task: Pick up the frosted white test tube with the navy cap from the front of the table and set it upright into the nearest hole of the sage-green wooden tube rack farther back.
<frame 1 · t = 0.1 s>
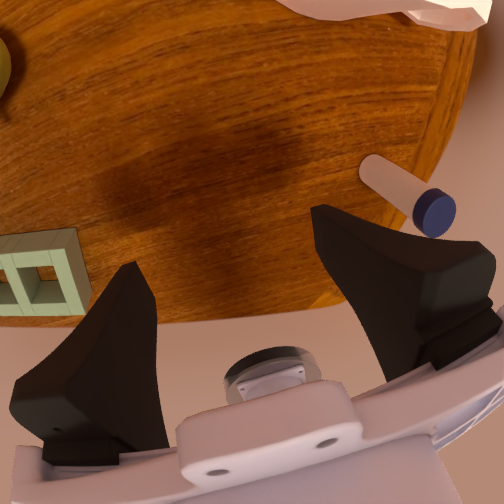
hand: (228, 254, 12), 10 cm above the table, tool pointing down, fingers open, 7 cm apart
test tube: (372, 169, 23), on the table
tube rack: (8, 266, 21), on the table
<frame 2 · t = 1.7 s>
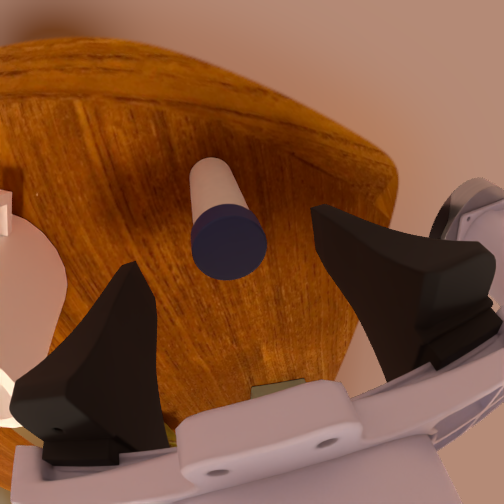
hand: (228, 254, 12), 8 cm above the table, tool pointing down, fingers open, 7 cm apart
test tube: (210, 177, 19), on the table
mug: (13, 258, 19), on the table
tube rack: (271, 414, 37), on the table
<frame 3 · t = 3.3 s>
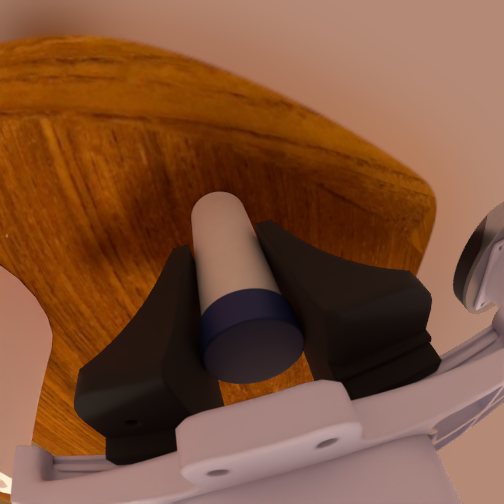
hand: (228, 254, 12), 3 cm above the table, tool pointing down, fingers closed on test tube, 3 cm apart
test tube: (218, 216, 15), on the table, touching gripper
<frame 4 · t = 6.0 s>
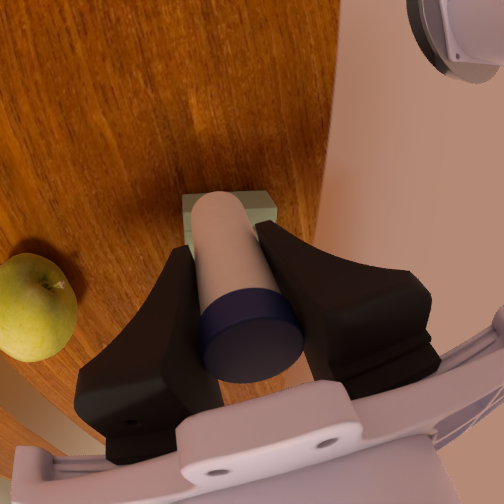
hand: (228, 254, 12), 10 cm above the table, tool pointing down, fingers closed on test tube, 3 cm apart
apple: (45, 274, 22), on the table
test tube: (217, 215, 15), point 7 cm above the table, touching gripper
tube rack: (224, 279, 26), on the table
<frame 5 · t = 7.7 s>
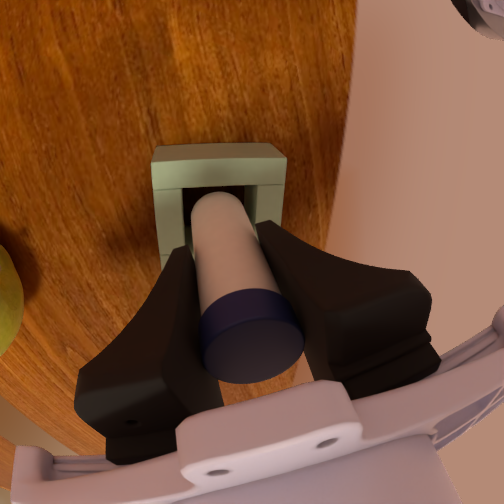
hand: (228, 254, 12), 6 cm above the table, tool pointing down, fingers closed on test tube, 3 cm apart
test tube: (217, 216, 15), point 3 cm above the table, touching gripper
tube rack: (214, 266, 20), on the table
when the fingers open (3 cm above the table, at t = 8.8 s): test tube stays where it is, resting in tube rack.
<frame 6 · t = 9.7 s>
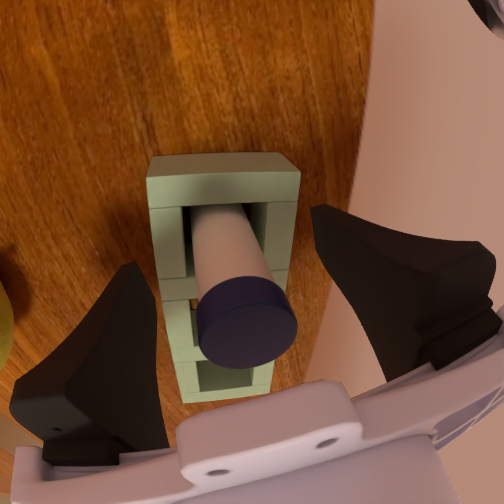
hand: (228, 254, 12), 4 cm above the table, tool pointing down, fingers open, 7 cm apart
test tube: (215, 211, 16), resting in tube rack
tube rack: (217, 285, 18), on the table
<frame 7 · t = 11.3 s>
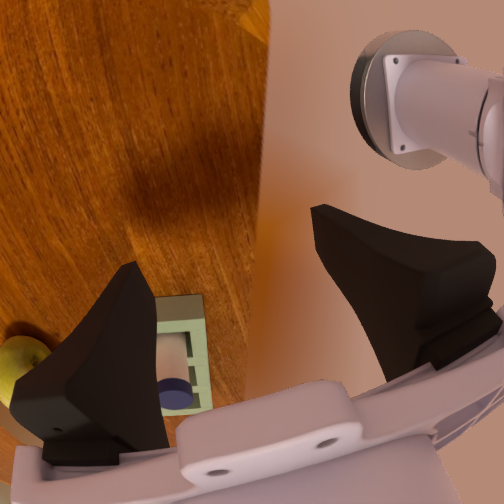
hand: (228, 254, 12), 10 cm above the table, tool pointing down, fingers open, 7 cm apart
apple: (35, 345, 26), on the table
test tube: (170, 321, 27), resting in tube rack
tube rack: (176, 354, 30), on the table
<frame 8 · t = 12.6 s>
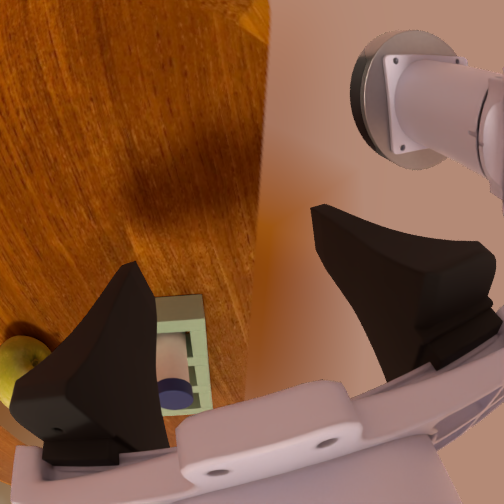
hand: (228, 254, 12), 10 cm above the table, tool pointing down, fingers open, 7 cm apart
apple: (35, 345, 26), on the table
test tube: (170, 321, 28), resting in tube rack
tube rack: (176, 354, 30), on the table
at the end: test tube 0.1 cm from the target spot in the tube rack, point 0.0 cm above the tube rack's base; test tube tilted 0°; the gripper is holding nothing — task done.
